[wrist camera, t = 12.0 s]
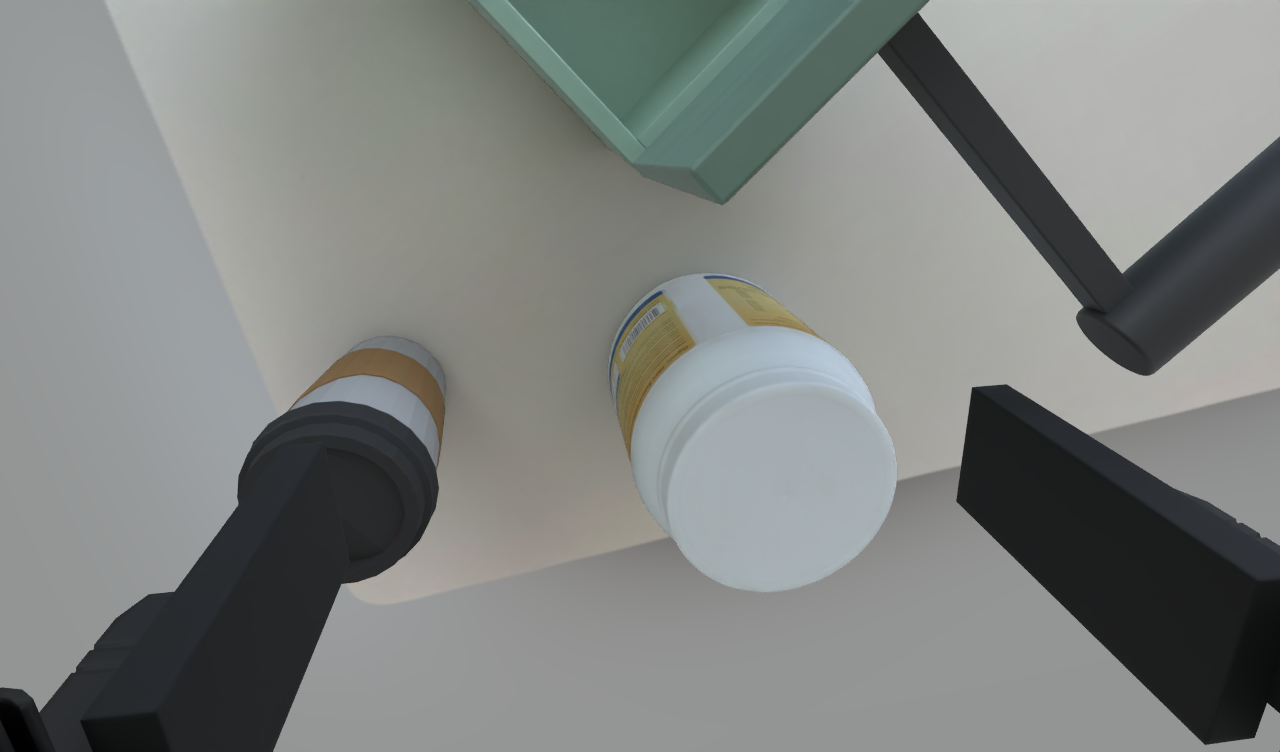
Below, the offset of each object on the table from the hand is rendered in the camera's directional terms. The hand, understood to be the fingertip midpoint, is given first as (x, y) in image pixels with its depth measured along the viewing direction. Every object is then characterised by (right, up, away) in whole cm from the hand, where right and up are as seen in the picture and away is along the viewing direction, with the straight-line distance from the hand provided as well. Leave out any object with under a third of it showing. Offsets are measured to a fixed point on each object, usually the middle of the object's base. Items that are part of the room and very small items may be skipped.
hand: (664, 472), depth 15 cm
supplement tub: (+3, +3, +32) cm, 33 cm away
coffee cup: (-16, +2, +30) cm, 34 cm away
